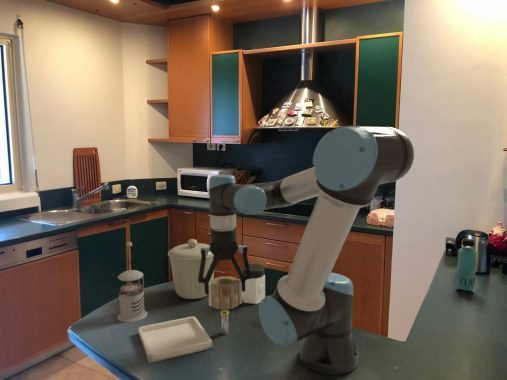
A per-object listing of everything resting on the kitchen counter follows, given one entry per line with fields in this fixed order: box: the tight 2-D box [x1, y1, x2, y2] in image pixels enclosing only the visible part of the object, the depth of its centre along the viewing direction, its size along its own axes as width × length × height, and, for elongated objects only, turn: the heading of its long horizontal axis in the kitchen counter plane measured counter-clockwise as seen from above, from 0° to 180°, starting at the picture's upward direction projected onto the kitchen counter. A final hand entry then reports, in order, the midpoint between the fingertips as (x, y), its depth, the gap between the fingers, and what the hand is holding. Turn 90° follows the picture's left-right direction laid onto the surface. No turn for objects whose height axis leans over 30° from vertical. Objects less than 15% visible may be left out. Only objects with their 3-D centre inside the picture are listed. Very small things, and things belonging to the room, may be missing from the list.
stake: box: [219, 309, 230, 335], centre depth 122 cm, size 3×3×7 cm
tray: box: [137, 315, 214, 364], centre depth 118 cm, size 18×18×2 cm
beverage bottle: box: [455, 238, 478, 291], centre depth 153 cm, size 6×7×20 cm
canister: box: [167, 238, 215, 300], centre depth 151 cm, size 18×18×21 cm
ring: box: [211, 276, 240, 311], centre depth 120 cm, size 8×9×7 cm
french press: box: [116, 241, 149, 323], centre depth 134 cm, size 10×12×25 cm
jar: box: [241, 263, 266, 305], centre depth 146 cm, size 9×8×12 cm
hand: (225, 302), depth 121 cm, fingers closed on ring, 8 cm apart
